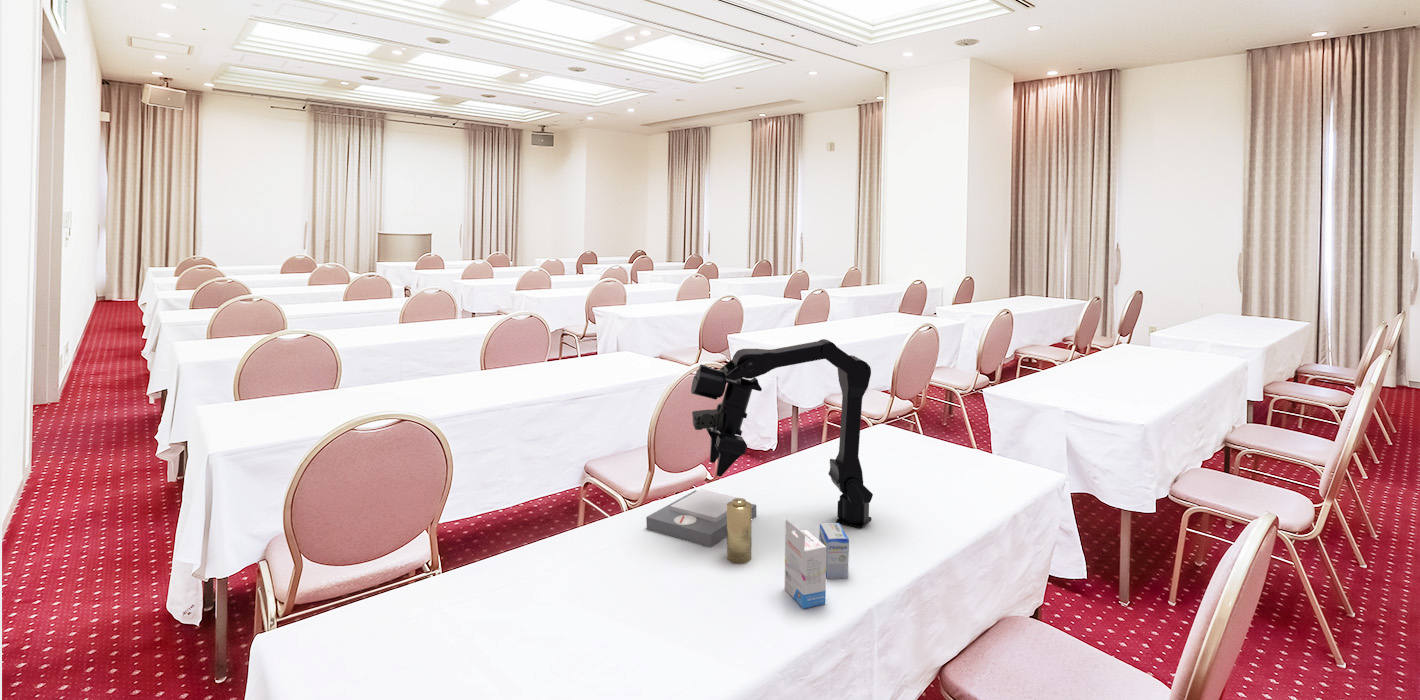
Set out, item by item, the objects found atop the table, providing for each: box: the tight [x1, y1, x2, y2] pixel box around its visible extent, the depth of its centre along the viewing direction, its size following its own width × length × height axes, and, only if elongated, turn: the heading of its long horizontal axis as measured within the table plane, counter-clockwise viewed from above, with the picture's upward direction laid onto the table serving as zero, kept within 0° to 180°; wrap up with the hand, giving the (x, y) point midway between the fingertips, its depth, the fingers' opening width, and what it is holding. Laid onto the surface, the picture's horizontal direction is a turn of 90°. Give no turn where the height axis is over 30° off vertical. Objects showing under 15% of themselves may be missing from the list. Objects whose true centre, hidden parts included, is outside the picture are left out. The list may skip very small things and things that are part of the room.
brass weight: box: [726, 497, 752, 565], centre depth 158 cm, size 5×5×13 cm
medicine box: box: [818, 522, 850, 580], centre depth 153 cm, size 8×4×9 cm, turn 5°
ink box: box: [784, 518, 827, 610], centre depth 142 cm, size 8×5×15 cm, turn 20°
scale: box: [645, 488, 757, 548], centre depth 177 cm, size 18×20×4 cm
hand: (715, 468), depth 170 cm, fingers open, 9 cm apart
